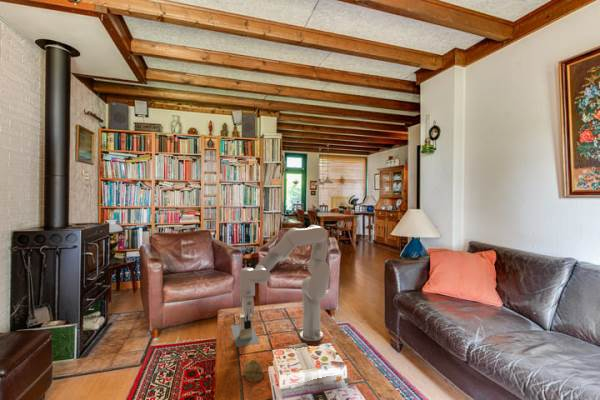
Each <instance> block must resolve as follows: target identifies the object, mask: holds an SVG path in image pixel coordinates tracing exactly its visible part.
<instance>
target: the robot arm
mask: <svg viewBox="0 0 600 400" xmlns="http://www.w3.org/2000/svg"><path fill="white" fill-rule="evenodd" d="M327 236H328V232H327V230H326V229H325V228H324V227H323V226H320V225H317V224H310V225H309V226H308V227H307V228H298V227H292V228H289V229H288V230H287V231H286V232H285V234H284V235H283V236H282V238H281V239H280V240H279V241H278V242H277V243H276V245H274V246H273V248H271V250H270V251H269V252H268V253H266V254H265V255H264V256H263V257H262V258H261V260H260V261H259V262H258V263H257V264H256V266H255V268H254V267H248V266H247V267H242V268H241V269H240V270H239V297H240V298H241V311H242V313H243V314H244V328H245V329H250V328H251V315H252V317H255V301H254V296H255V295H256V285H255V284H266V283H267V282H269V281H270V279H271V272H270V271H271V270H272V268H274V266H276V265H277V263H278V262H281V261H283V260H284V261H285V259H286V258H287V257H289V256H290V254H291V253H292V252H293V250H294V249H295V248H296V247H301V246H302V247H303V246H310V245H311V246H312V247H311V253H310V257H309V259H308V260H309V261H308V264H307V265H308V266H307V271H308V272H309V273H310V275H311V276H307V277H305V278H304V279H303V281H302V283H301V295H302V331H300V332H299V337H300V339H302V340H303V341H307V342H316V341H320V340H322V339H323V337H324V333H323V331H322V330H321V300H322V299H323V298H324V297H325V295H326V292H327V287H328V284H329V281H330V276H331V269H330V268H331V267H330V266H329V264H328V263H327V257H328V252H329V251H328V249H329V248H328V247H329V244H328V240H327Z"/></svg>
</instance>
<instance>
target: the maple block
mask: <svg viewBox="0 0 600 400" xmlns="http://www.w3.org/2000/svg"><path fill="white" fill-rule="evenodd" d="M238 325H239V337H240V340H247V339H252V326H253V316H252V314H251V328H250V329H245V328H244V314H243V312H240V313H238Z"/></svg>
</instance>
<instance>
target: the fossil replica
mask: <svg viewBox="0 0 600 400" xmlns="http://www.w3.org/2000/svg"><path fill="white" fill-rule="evenodd" d="M302 347H308V348H309V345H308V344H307V342H301V343H296V344H293V345H288V346H287V349H289V348H292V349H294V348H302Z"/></svg>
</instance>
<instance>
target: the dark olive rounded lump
mask: <svg viewBox="0 0 600 400" xmlns="http://www.w3.org/2000/svg"><path fill="white" fill-rule="evenodd" d="M265 375H266V373H265V372H264V371H263V368H262V365H261V363H260V362H259V361H258V360H255V359H251V360H249V361H248V362H246V363H245V364H244V378H245V379H246V380H247V381H248V382H250V383H258V382H261V381H262V380H263V378H264V376H265Z"/></svg>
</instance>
